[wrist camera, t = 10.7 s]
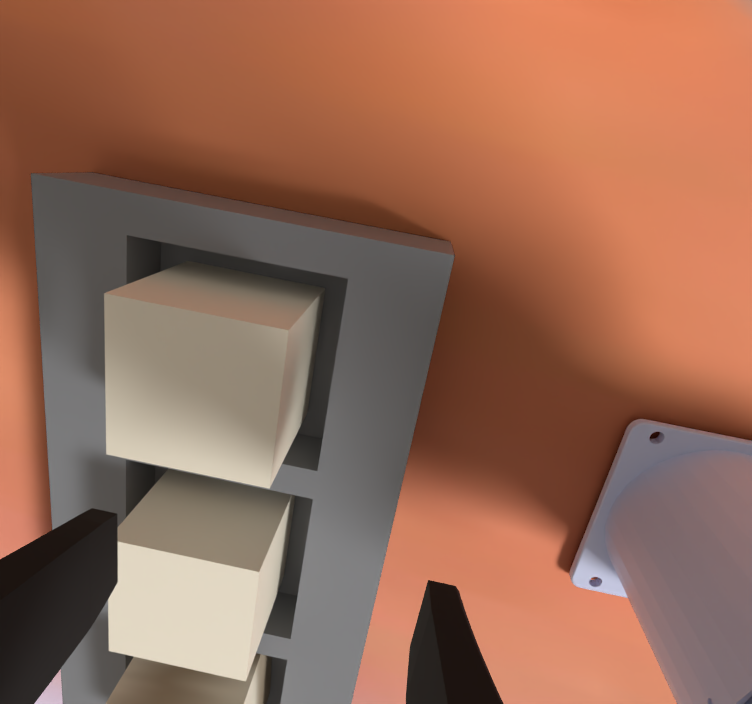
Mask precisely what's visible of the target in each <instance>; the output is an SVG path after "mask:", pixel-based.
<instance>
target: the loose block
mask: <svg viewBox="0 0 752 704" xmlns="http://www.w3.org/2000/svg"><path fill="white" fill-rule="evenodd" d="M271 665H272V657H271V656H267V655H262V654H258V653H256V655H255V657H254V660H253V663H252V666H251V669H250V671H249V674H248V677H247V680H246V681H241V680H237V679H232V678H228V677H223V676H219V675H214V674H210V673H205V672H201V671H196V670H192V669H188V668H183V667H179V666H174V665H170V664H165V663H161V662H156V661H152V660H147V659H143V658H138V657H133V659H132V660H131V662H130V664H129V665H128V667H127V669H126V670H125V672H124V674H123V675H122V677H121V679H120V680H119V682H118V684H117V685H116V687H115V689H114V690H113V692H112V694H111V695H110V697H109V698H108V700H107V702H106V703H105V704H266V703H267V700H268V697H269V693H270V683H271Z"/></svg>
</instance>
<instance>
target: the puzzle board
mask: <svg viewBox="0 0 752 704" xmlns="http://www.w3.org/2000/svg"><path fill="white" fill-rule="evenodd" d="M31 185H32V201H33V218H34V234H35V251H36V267H37V284H38V301H39V317H40V334H41V350H42V367H43V383H44V400H45V416H46V433H47V449H48V466H49V483H50V499H51V516H52V530H54V529H55V528H57V527H59V526H61V525H62V524H64V523H66V522H68V521H69V520H71V519H73V518H75V517H76V516H78V515H80V514H82V513H84V512H85V511H87V510H89V509H91V508H94V509H98V510H103V511H108V512H112V513H117V523H118V583H117V585H116V586H115V588H114V590H113V592H112V593H111V595H110V597H109V599H108V600H107V602H106V604H105V606H104V607H103V609H102V611H101V612H100V614H99V615H98V617H97V619H96V620H95V622H94V624H93V625H92V627H91V628H90V630H89V631H88V632H87V634H86V635H85V637H84V638H83V639H82V641H81V642H80V643H79V645H78V646H77V647H76V649H75V650H74V651H73V653H72V654H71V655H70V657H69V658H68V659H67V661H66V662H65V663H64V665H63V666H62V667H61V681H62V698H63V704H105V703H106V702H107V700H108V698H109V697H110V695H111V694H112V692H113V690H114V689H115V687H116V685H117V684H118V682H119V680H120V679H121V677H122V675H123V674H124V672H125V670H126V669H127V667H128V665H129V664H130V662H131V660H132V659H133V657H138V658H143V659H147V660H152V661H156V662H161V663H165V664H170V665H174V666H179V667H183V668H188V669H192V670H196V671H201V672H205V673H210V674H214V675H219V676H223V677H228V678H232V679H237V680H241V681H246V680H247V677H248V674H249V671H250V669H251V666H252V663H253V660H254V657H255V655H256V653H258V654H262V655H267V656H271V657H272V665H271V683H270V693H269V697H268V700H267V703H266V704H351V702H352V698H353V693H354V689H355V685H356V680H357V676H358V672H359V667H360V663H361V659H362V655H363V650H364V646H365V642H366V637H367V633H368V629H369V624H370V620H371V616H372V611H373V607H374V603H375V598H376V594H377V590H378V585H379V581H380V577H381V572H382V568H383V564H384V559H385V555H386V551H387V546H388V542H389V538H390V533H391V529H392V525H393V520H394V516H395V512H396V507H397V503H398V499H399V495H400V490H401V486H402V482H403V477H404V473H405V469H406V464H407V460H408V456H409V451H410V447H411V443H412V438H413V434H414V430H415V425H416V421H417V417H418V412H419V408H420V404H421V399H422V395H423V391H424V386H425V382H426V378H427V373H428V369H429V365H430V360H431V356H432V352H433V348H434V343H435V339H436V335H437V330H438V326H439V322H440V317H441V313H442V309H443V304H444V300H445V296H446V291H447V287H448V283H449V278H450V274H451V270H452V265H453V261H454V257H455V254H454V251H453V248H452V244H451V242H450V241H445V240H440V239H434V238H429V237H424V236H419V235H414V234H409V233H403V232H398V231H393V230H388V229H383V228H377V227H372V226H367V225H362V224H357V223H352V222H346V221H341V220H336V219H331V218H326V217H321V216H315V215H310V214H305V213H300V212H295V211H290V210H284V209H279V208H274V207H269V206H264V205H259V204H253V203H248V202H243V201H238V200H233V199H228V198H222V197H217V196H212V195H207V194H202V193H196V192H191V191H186V190H181V189H176V188H171V187H165V186H160V185H155V184H150V183H145V182H140V181H134V180H129V179H124V178H119V177H114V176H109V175H103V174H98V173H93V172H80V173H31Z"/></svg>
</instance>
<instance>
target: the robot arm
mask: <svg viewBox="0 0 752 704" xmlns="http://www.w3.org/2000/svg"><path fill="white" fill-rule="evenodd" d="M654 432H660V434H659V436H658V437H657V438H654V439H650V436H651V434H652V433H654ZM569 575H570V578H571V581H572V583H573V584H574V585H575V586H577V587H579V588H584V589H589V590H593V591H598V592H603V593H607V594H612V595H617V596H621V597H626V598H628V599H629V601H630V603H631V605H632V607H633V609H634V612H635V614H636V616H637V618H638V620H639V622H640V625H641V627H642V629H643V631H644V633H645V635H646V638H647V640H648V642H649V644H650V646H651V648H652V650H653V653H654V655H655V657H656V659H657V661H658V663H659V666H660V668H661V670H662V672H663V674H664V676H665V679H666V681H667V683H668V685H669V687H670V689H671V691H672V694H673V696H674V698H675V700H676V702H677V704H752V441H751V440H746V439H741V438H736V437H731V436H726V435H721V434H716V433H711V432H706V431H701V430H696V429H691V428H686V427H681V426H676V425H671V424H667V423H662V422H657V421H652V420H647V419H637V420H634V421H633V422H631V423H630V424H629V425H628V427H627V429H626V431H625V434H624V436H623V439H622V441H621V444H620V446H619V449H618V451H617V454H616V456H615V459H614V461H613V464H612V466H611V469H610V471H609V474H608V476H607V479H606V481H605V484H604V486H603V489H602V491H601V494H600V496H599V499H598V501H597V504H596V506H595V509H594V511H593V514H592V516H591V519H590V521H589V524H588V526H587V529H586V531H585V534H584V536H583V539H582V541H581V544H580V546H579V549H578V551H577V554H576V556H575V559H574V561H573V564H572V566H571V569H570V573H569ZM593 577H598V578H597V579H595V580H590V579H591V578H593ZM117 583H118V523H117V513H112V512H108V511H103V510H98V509H94V508H91V509H89V510H87V511H85V512H84V513H82V514H80V515H78V516H76V517H75V518H73V519H71V520H69V521H68V522H66V523H64V524H62V525H61V526H59V527H57V528H55V529H54V530H52V531H50V532H48V533H47V534H45V535H43V536H41V537H40V538H38V539H36V540H34V541H33V542H31V543H29V544H27V545H25V546H24V547H22V548H20V549H18V550H16V551H15V552H13V553H11V554H9V555H7V556H6V557H4V558H2V559H0V704H34V703H35V702H36V700H37V699H38V698H39V696H40V695H41V694H42V692H43V691H44V690H45V689H46V687H47V686H48V685H49V683H50V682H51V681H52V679H53V678H54V677H55V675H56V674H57V673H58V671H59V670H60V669H61V667H62V666H63V665H64V663H65V662H66V661H67V659H68V658H69V657H70V655H71V654H72V653H73V651H74V650H75V649H76V647H77V646H78V645H79V643H80V642H81V641H82V639H83V638H84V637H85V635H86V634H87V632H88V631H89V630H90V628H91V627H92V625H93V624H94V622H95V620H96V619H97V617H98V615H99V614H100V612H101V611H102V609H103V607H104V606H105V604H106V602H107V600H108V599H109V597H110V595H111V593H112V592H113V590H114V588H115V586H116V585H117ZM406 704H503V702H502V700H501V698H500V695H499V693H498V691H497V689H496V687H495V684H494V682H493V680H492V678H491V675H490V673H489V671H488V668H487V666H486V664H485V661H484V659H483V657H482V654H481V652H480V649H479V647H478V644H477V642H476V639H475V637H474V634H473V631H472V629H471V626H470V623H469V621H468V618H467V615H466V612H465V609H464V606H463V603H462V600H461V597H460V593H459V591H458V589H457V588H456V586H453V585H448V584H444V583H439V582H434V581H430V580H428V583H427V587H426V591H425V594H424V598H423V601H422V605H421V609H420V612H419V616H418V620H417V623H416V627H415V630H414V634H413V638H412V641H411V645H410V654H409V665H408V677H407V690H406Z"/></svg>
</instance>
